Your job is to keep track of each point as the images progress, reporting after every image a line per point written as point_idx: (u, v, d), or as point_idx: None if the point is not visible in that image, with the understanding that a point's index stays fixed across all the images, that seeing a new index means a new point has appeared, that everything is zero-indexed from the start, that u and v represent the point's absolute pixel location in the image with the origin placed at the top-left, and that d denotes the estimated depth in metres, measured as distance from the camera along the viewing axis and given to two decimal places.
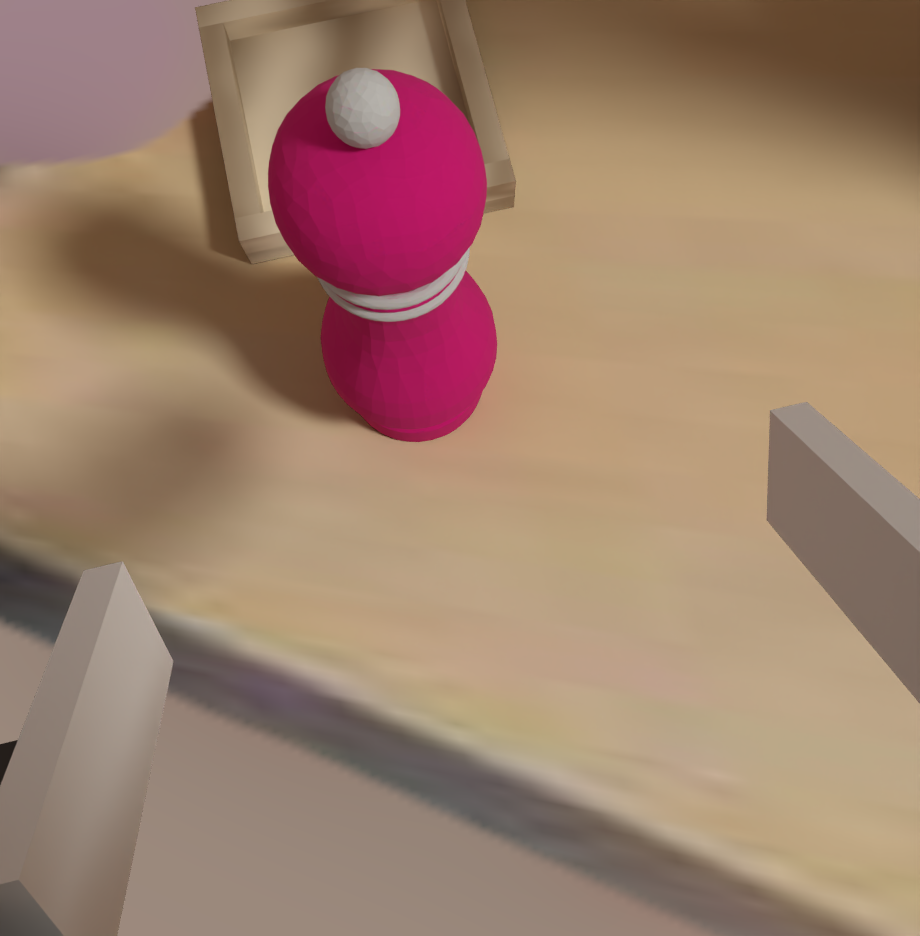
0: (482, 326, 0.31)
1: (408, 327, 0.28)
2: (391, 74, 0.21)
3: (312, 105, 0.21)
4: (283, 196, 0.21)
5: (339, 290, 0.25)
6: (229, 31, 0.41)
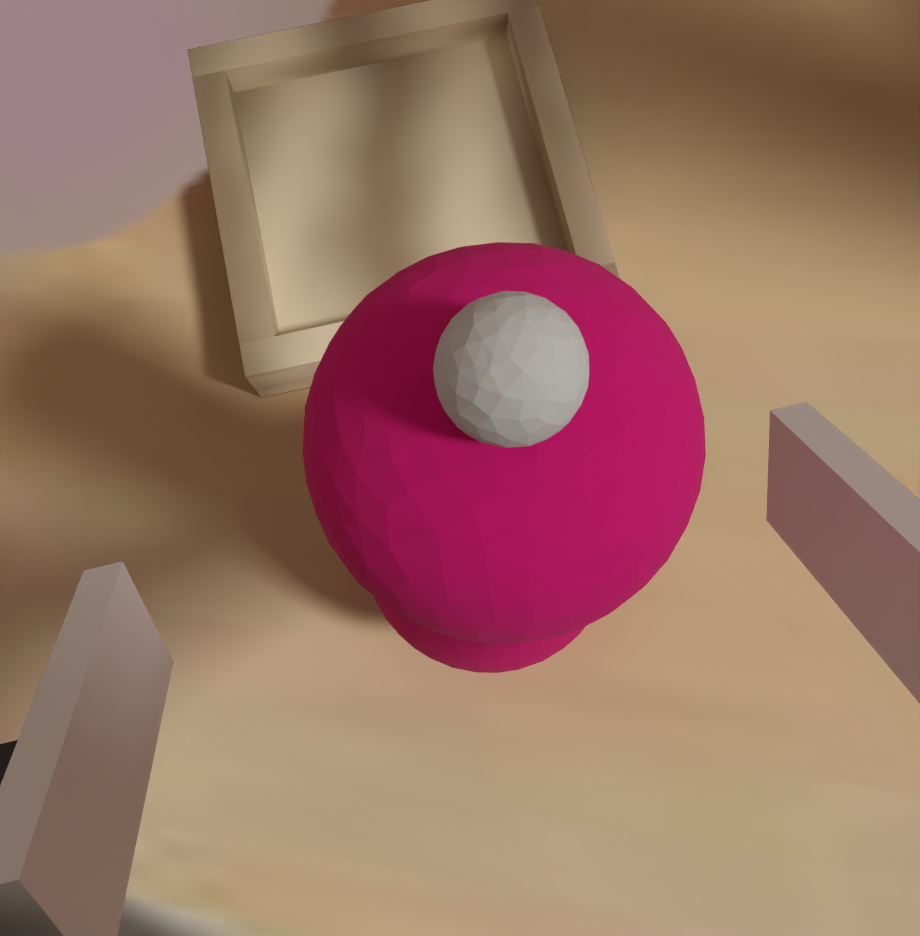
0: None
1: None
2: (545, 265, 0.11)
3: (395, 330, 0.11)
4: (335, 501, 0.11)
5: None
6: (233, 81, 0.31)
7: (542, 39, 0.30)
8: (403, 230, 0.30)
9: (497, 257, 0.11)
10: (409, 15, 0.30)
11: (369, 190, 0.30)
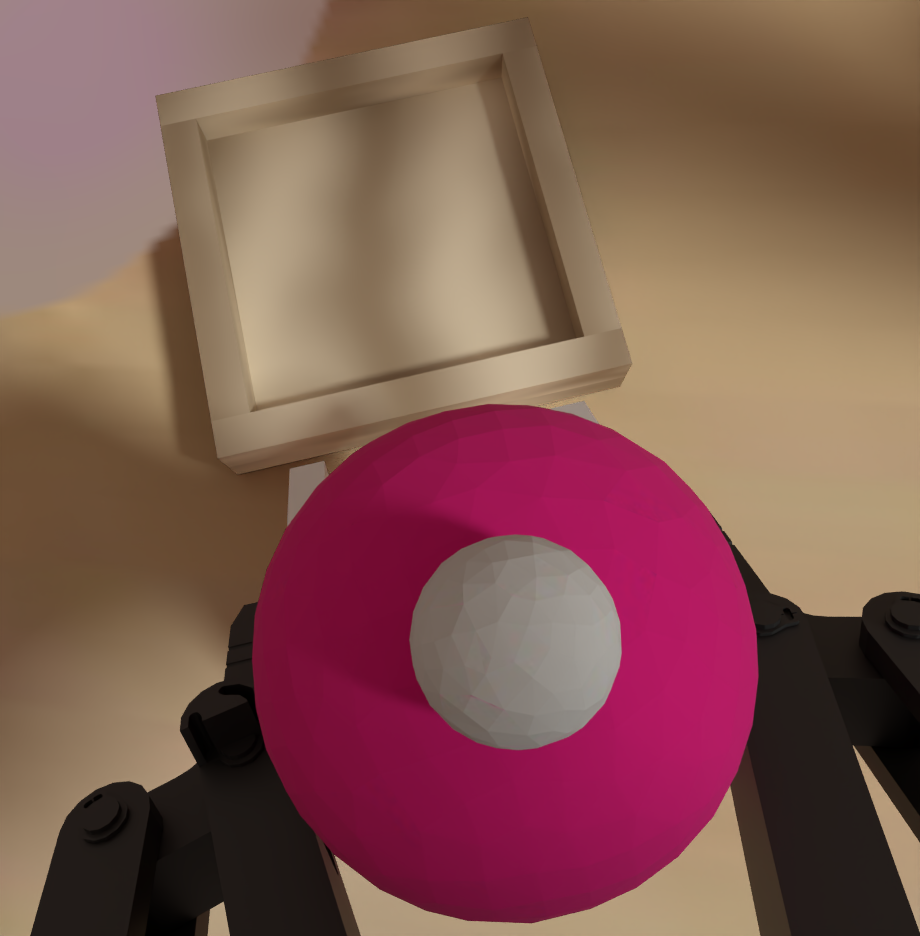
0: None
1: None
2: (556, 455, 0.09)
3: (361, 549, 0.08)
4: (288, 763, 0.08)
5: None
6: (205, 129, 0.28)
7: (540, 82, 0.28)
8: (391, 291, 0.27)
9: (494, 442, 0.09)
10: (396, 57, 0.28)
11: (353, 247, 0.28)
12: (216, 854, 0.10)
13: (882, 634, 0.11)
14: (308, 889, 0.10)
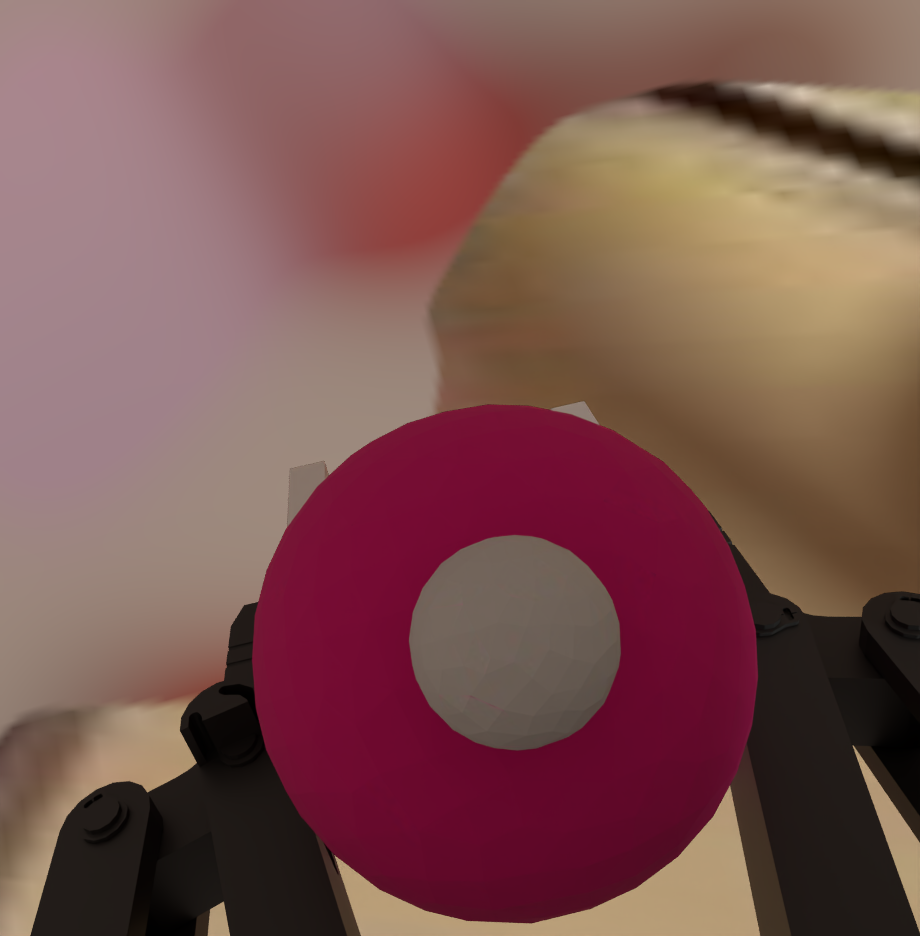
0: None
1: None
2: (556, 455, 0.09)
3: (362, 550, 0.08)
4: (288, 763, 0.08)
5: None
6: None
7: None
8: None
9: (494, 442, 0.09)
10: None
11: None
12: (216, 854, 0.10)
13: (881, 634, 0.11)
14: (308, 889, 0.10)
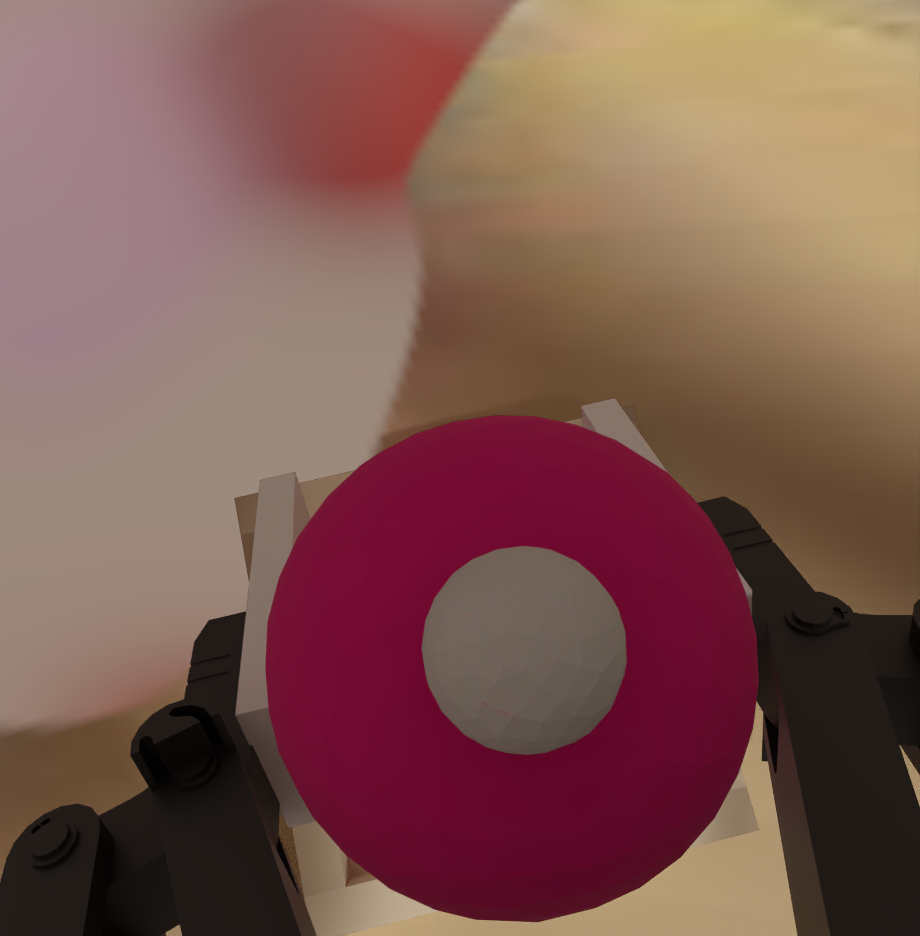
0: None
1: None
2: (562, 466, 0.09)
3: (374, 558, 0.08)
4: (302, 766, 0.09)
5: None
6: None
7: None
8: None
9: (502, 454, 0.09)
10: None
11: None
12: (172, 879, 0.10)
13: None
14: (267, 909, 0.09)
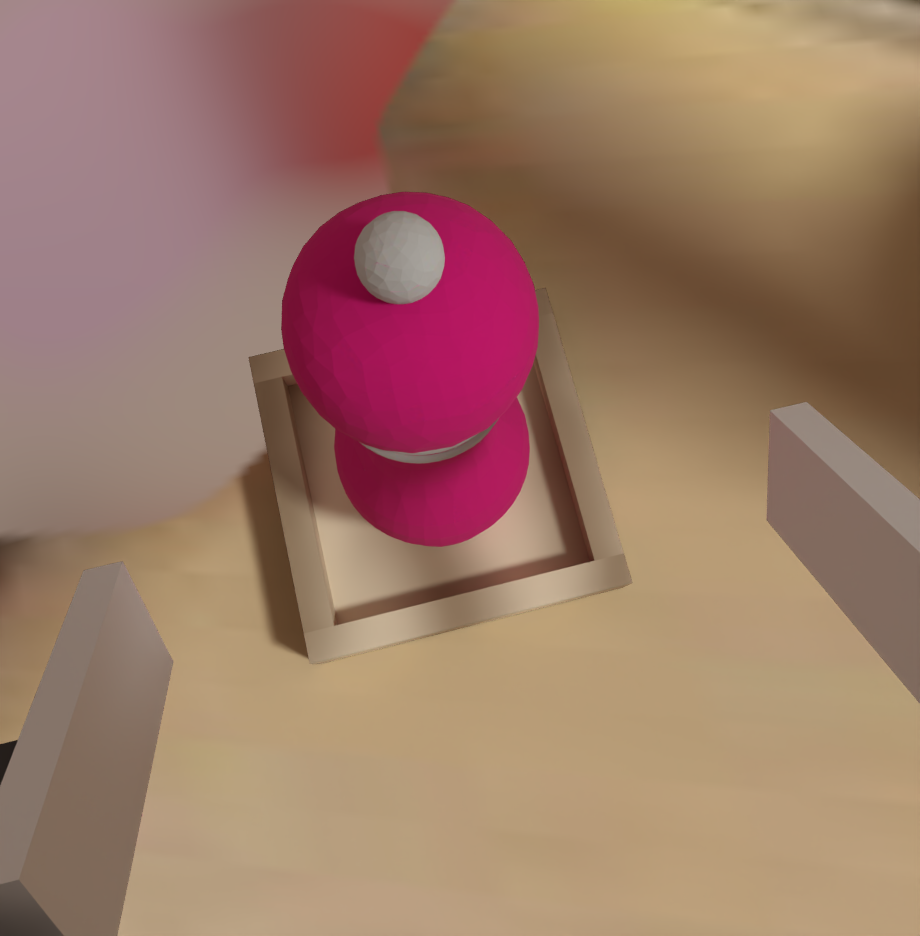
0: (517, 438, 0.28)
1: None
2: (428, 203, 0.18)
3: (335, 243, 0.17)
4: (301, 351, 0.18)
5: None
6: (288, 380, 0.35)
7: (556, 344, 0.35)
8: None
9: (399, 199, 0.18)
10: None
11: None
12: None
13: None
14: None
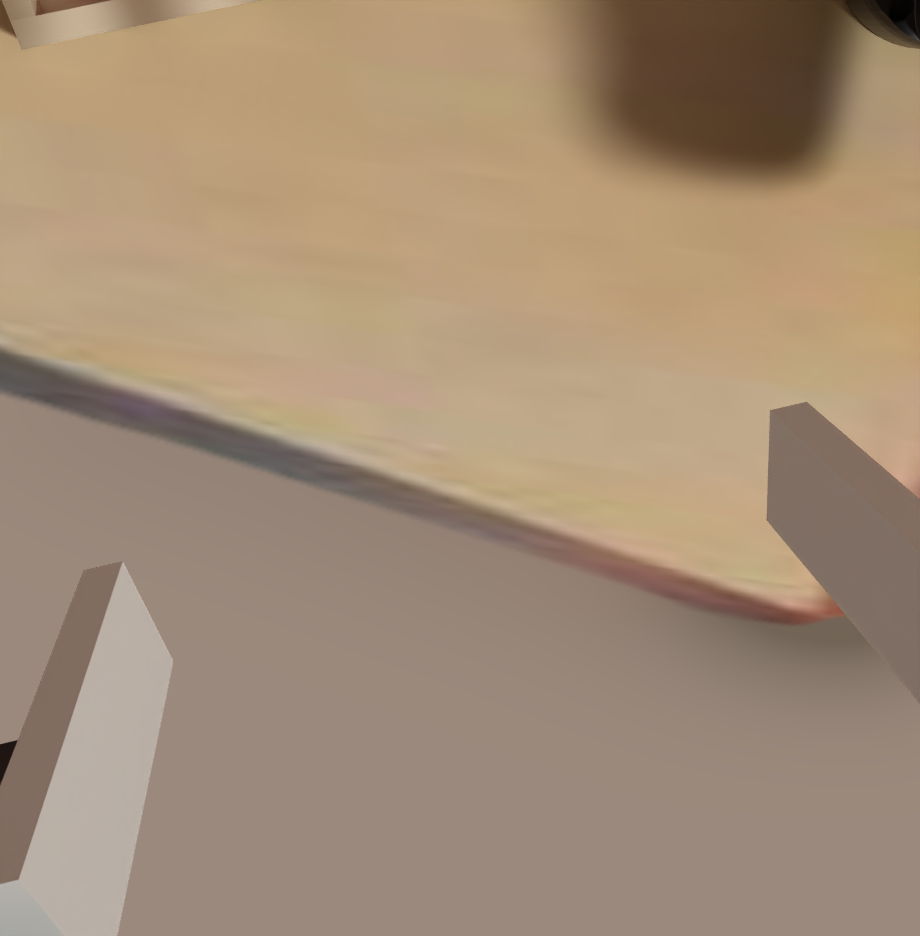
0: None
1: None
2: None
3: None
4: None
5: None
6: None
7: None
8: None
9: None
10: None
11: None
12: None
13: None
14: None
